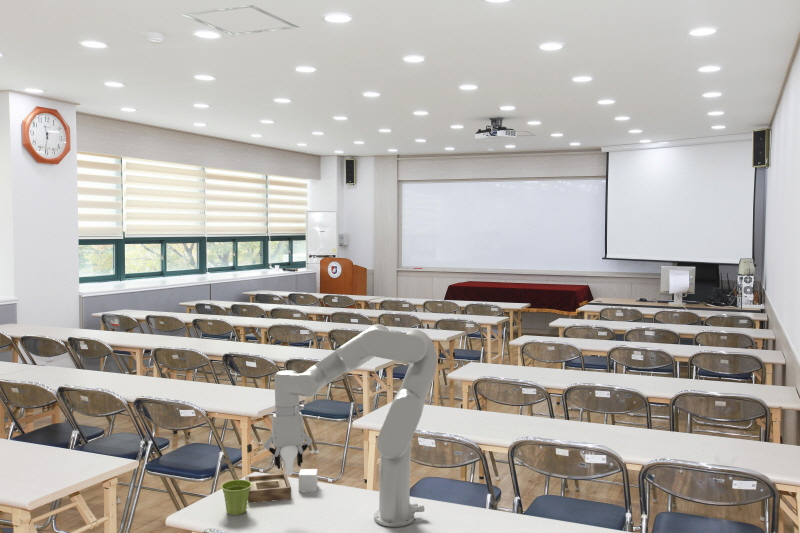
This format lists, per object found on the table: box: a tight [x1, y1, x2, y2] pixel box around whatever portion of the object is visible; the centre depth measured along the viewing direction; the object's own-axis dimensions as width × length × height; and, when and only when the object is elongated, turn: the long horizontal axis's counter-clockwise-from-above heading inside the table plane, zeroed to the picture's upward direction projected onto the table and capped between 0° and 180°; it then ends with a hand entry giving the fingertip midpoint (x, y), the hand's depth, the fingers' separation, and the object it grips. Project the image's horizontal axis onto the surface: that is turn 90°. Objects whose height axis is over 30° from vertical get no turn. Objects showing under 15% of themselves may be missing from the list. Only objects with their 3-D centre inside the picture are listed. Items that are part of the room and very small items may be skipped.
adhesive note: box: [298, 468, 318, 493], centre depth 236 cm, size 6×6×6 cm
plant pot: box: [220, 479, 252, 516], centre depth 216 cm, size 9×9×9 cm
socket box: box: [244, 472, 292, 504], centre depth 231 cm, size 14×14×4 cm
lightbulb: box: [279, 446, 298, 477], centre depth 214 cm, size 6×6×11 cm
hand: (288, 465), depth 215 cm, fingers closed on lightbulb, 5 cm apart
